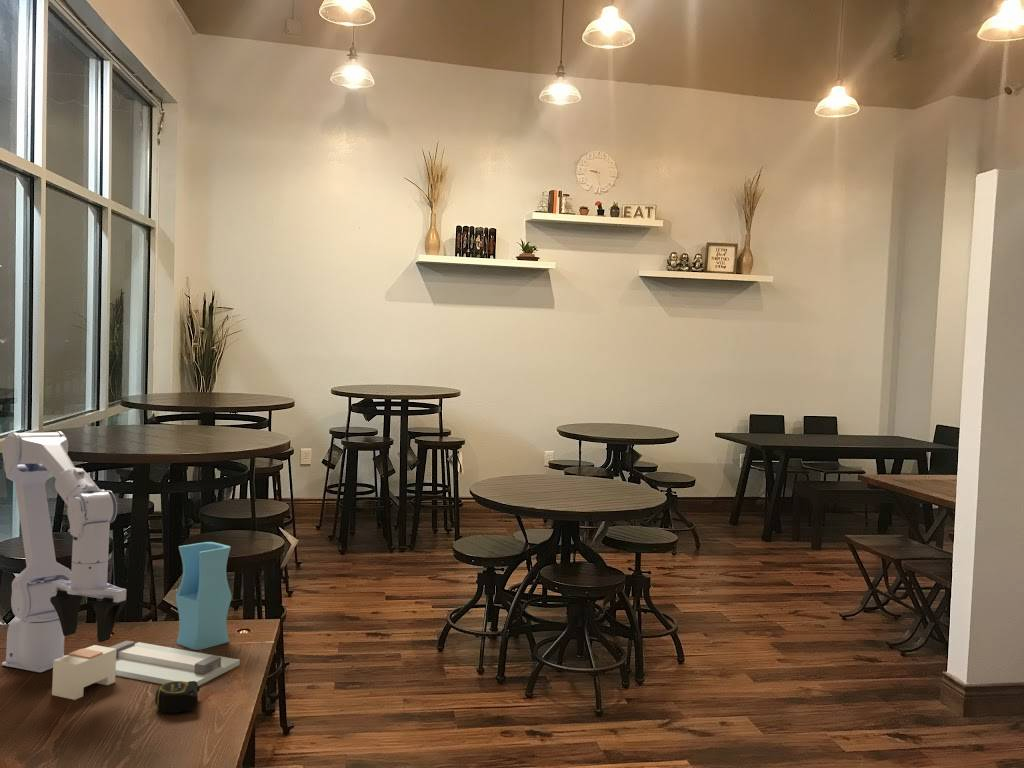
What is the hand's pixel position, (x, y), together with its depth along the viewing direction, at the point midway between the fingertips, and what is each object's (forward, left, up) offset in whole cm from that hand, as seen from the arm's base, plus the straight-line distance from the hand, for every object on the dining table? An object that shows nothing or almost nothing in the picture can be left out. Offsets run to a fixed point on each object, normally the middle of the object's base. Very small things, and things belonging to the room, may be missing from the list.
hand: (86, 637), depth 146 cm
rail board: (+5, +14, -9) cm, 17 cm away
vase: (+2, +29, -9) cm, 30 cm away
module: (0, 0, -9) cm, 9 cm away
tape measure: (+20, 0, -9) cm, 22 cm away
